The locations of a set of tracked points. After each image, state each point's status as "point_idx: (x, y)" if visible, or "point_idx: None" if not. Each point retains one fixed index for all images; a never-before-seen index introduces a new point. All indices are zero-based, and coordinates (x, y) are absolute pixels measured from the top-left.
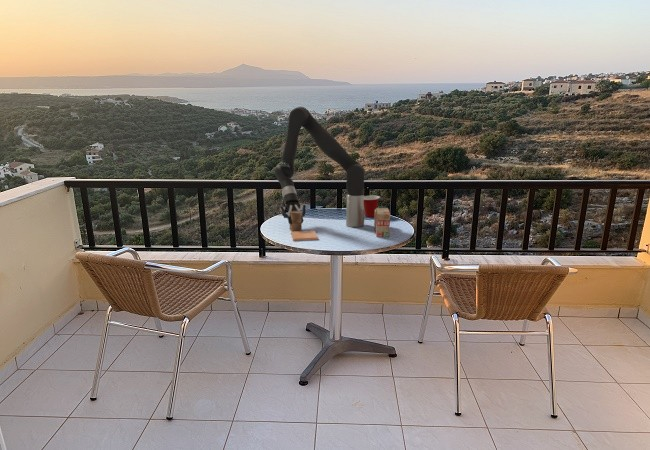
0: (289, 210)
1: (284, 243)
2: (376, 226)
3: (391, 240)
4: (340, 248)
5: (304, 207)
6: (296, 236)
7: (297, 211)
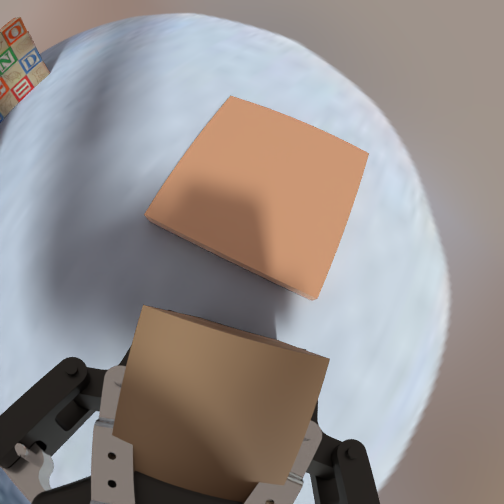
0: (284, 501)
1: (411, 162)
2: (14, 76)
3: (62, 48)
4: (228, 27)
5: (7, 428)
6: (336, 171)
7: (165, 410)
